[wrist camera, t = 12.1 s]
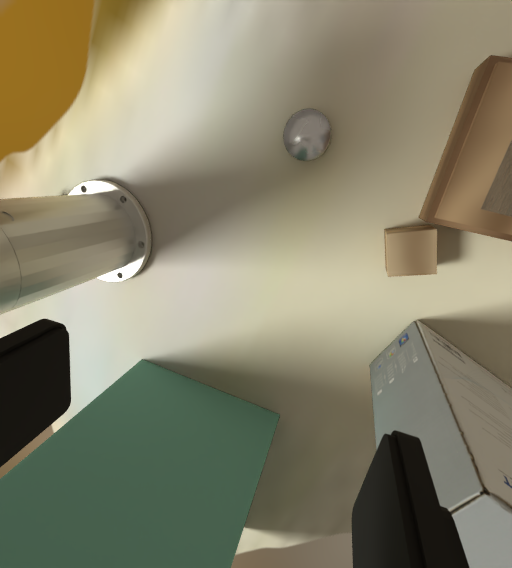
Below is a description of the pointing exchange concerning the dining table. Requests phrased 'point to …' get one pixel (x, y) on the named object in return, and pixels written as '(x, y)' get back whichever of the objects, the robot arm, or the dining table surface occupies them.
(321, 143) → the chrome dome
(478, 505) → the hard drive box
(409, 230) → the oak offcut
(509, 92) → the tray
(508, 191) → the block
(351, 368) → the dining table surface
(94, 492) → the box
